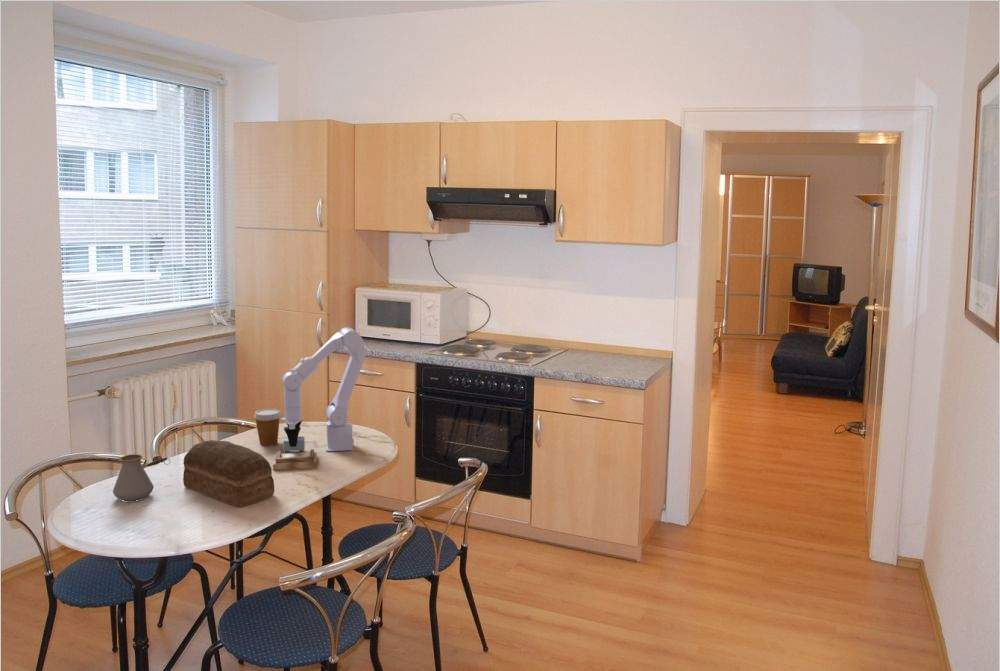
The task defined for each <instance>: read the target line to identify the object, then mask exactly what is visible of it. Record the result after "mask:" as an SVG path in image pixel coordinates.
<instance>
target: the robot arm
mask: <svg viewBox="0 0 1000 671" xmlns="http://www.w3.org/2000/svg"><path fill="white" fill-rule="evenodd" d="M345 348H346V350H347V351H348V353H349V355H350V356H349V359H348V361H347V364H346V367H345V370H344V372H343V375H342V377H341V381H340V383H339V386H338V389H337V391H336V394H335V396H334V397H333V398H332V400H331V402H330V404H329V405H328V406H327V407H326V409H325V411H324V412H325V416H326V418H327V419H328V420H327V422H326V444H325V445H326V446H325V451H326V452H341V451H342V452H343V451H344V452H345V451H353V450H354V445H353V444H354V443H355V442H354V441H355V439H354V438H353V436H354V435H353V423H348V422H347V421H348V412H349V404H350V403H349V402H350V398H351V396H352V393H353V391H354V388H355V385H356V383H357V379H358V378H359V374H360V372H361V369H362V366H363V364H364V362H365V359H366V352H365V345H364V339H363V338H362V336H361V334H359V332H357V331H356V330H354V329H353V328H352V327H351V326H344V327H343V328H341V329H340V330H339V331H337V332H336V333H335V334H333V335H332V336H331V337H330V338H329V339H328V340H327V342H325V343H324V344H323V345H322V346H321V347H320V348H319V349H318V350H317V351H316V352H315V353H314V354H313V355H312V356H306V357H303V358H301V359H300V360H299V361H300V362H299V363H298V364H297V365H295V367H293V368H290V369H289V371H287V372H286V373H285V374H283V376H282V379H281V381H282V384H283V405H284V406H283V407H284V411H283V412H284V417H280V418H281V419H280V420H281V422H285V424H286V426H284V427H283V430H284V432H285V434H286V436H287V437H288V440H289V444H290V447H296V445H297V439H298V437H299V433H300V431H301V428H302V427H301V424H302V422H303V418H302V406H301V405H302V404H301V403H302V402H301V400H302V399H301V387H302V384H303V382H305V381H306V380H307V379H308V378H309V377H310V376H311V375H313V373H315V371H317V370H318V366H319V364H320V363H321V362H322V361H324V359H326V358H327V357H328V356H329V355H331V354H332V353H333V352H334V351H336V350H344V349H345Z"/></svg>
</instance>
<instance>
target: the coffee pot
mask: <svg viewBox="0 0 1000 671" xmlns="http://www.w3.org/2000/svg"><path fill="white" fill-rule="evenodd" d="M142 459H143V456H142V454H135V453H134V454H128V455H123V456H121V457H119V461H120V463H121V468H120V471H119V473H118V475H117V476H118V477H117V479H116V481H115V484H114V486H113V489H112V493H113V495H114V497H115V498H117V499H119V500H120V499H121V500H124V501H136V500H140V501H142V500H141V499H143V498H145V497H147V498H148V496H149V495H151V493H153V489H154V483H153V482H152V481H151V480H152V479H150V477H149V475H148V474H147V472H146V470H145V468H148V467H149V468H150V467H152V466H156V465H158V464H160V463H163V464H164V465H170V464H171V462H169V463H166V461H167V460H169V461H171V459H170V458H168V457H163V458H162V457H161V458H160V459H156V460H154V461H151V462H149V463H147V464H144V465H143V464H142V463H141V461H142ZM145 499H146V498H145ZM121 500H120V501H121ZM143 500H144V499H143ZM136 502H137V501H136Z"/></svg>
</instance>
